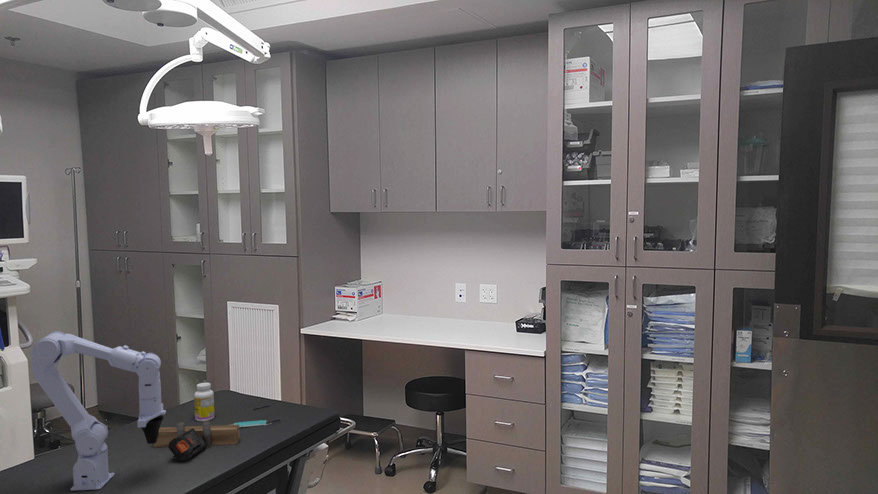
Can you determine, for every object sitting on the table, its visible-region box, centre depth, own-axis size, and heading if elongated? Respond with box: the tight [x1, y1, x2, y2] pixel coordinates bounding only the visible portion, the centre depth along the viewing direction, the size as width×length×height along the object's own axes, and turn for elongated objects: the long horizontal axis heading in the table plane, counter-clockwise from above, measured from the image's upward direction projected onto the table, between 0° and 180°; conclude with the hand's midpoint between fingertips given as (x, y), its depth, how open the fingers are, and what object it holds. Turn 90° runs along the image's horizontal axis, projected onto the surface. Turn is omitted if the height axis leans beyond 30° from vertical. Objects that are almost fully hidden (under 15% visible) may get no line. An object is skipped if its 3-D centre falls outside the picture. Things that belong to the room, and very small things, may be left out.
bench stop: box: [153, 420, 241, 449], centre depth 198 cm, size 6×26×8 cm, turn 95°
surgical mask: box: [231, 405, 281, 429], centre depth 216 cm, size 21×4×10 cm
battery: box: [168, 428, 206, 462], centre depth 190 cm, size 12×8×7 cm
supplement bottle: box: [193, 382, 215, 423], centre depth 222 cm, size 7×7×13 cm
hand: (152, 442), depth 176 cm, fingers closed
